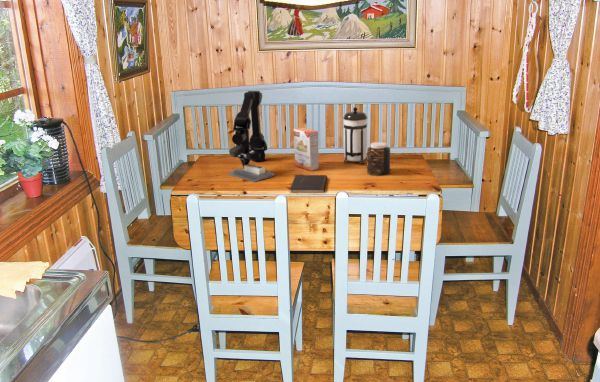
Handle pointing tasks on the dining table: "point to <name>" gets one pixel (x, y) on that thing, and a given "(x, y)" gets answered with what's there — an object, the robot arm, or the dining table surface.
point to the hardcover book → (309, 184)
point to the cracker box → (306, 148)
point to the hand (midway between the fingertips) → (245, 169)
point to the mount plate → (250, 175)
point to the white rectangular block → (254, 169)
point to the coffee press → (355, 136)
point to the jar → (378, 159)
